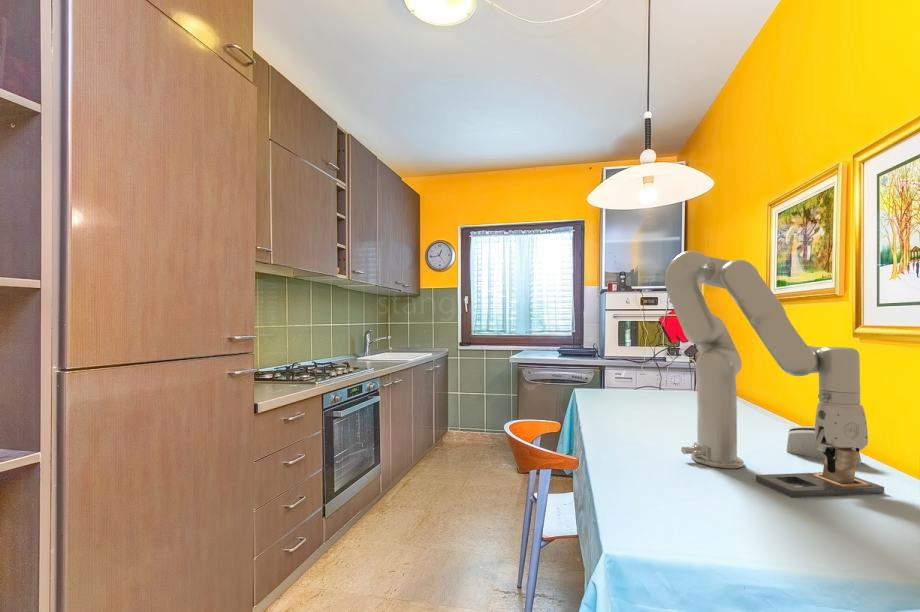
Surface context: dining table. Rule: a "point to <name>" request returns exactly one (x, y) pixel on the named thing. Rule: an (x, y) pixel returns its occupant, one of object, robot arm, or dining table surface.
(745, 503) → the dining table surface
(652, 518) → the dining table surface
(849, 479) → the plug
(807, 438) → the grey slotted arched block
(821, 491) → the grey flat holed plate
